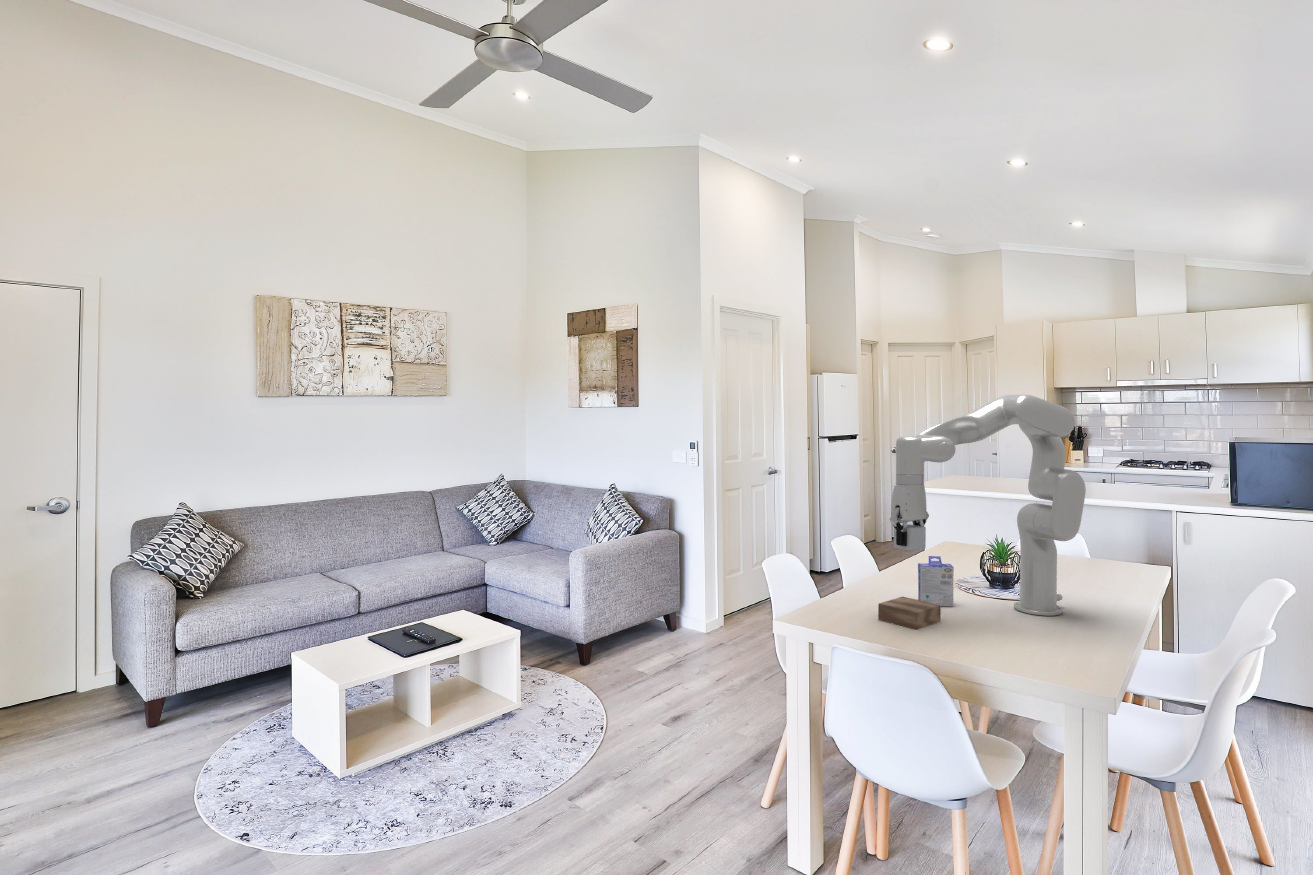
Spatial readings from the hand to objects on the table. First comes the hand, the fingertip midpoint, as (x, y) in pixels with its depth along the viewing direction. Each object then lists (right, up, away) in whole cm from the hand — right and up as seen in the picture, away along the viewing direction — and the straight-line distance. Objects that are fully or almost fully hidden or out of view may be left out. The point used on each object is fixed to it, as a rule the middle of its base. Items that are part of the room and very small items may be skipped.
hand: (909, 543), depth 198 cm
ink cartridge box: (+14, -21, +18) cm, 31 cm away
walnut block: (0, -22, +1) cm, 22 cm away
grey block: (0, -1, 0) cm, 1 cm away
